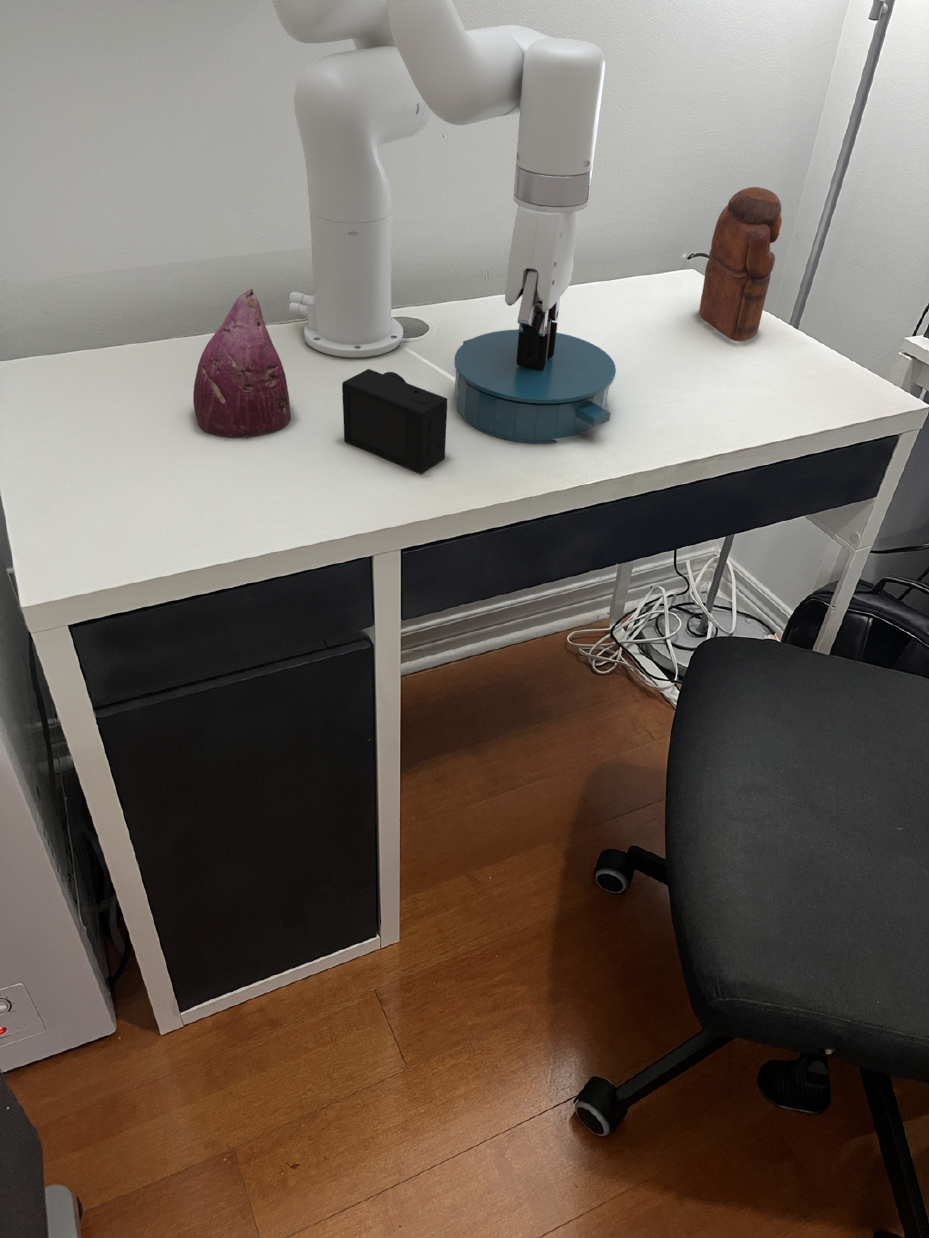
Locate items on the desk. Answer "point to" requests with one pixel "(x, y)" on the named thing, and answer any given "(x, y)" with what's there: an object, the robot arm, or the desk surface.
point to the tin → (527, 415)
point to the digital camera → (394, 419)
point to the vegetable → (241, 377)
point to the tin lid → (562, 380)
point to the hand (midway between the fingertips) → (535, 359)
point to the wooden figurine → (741, 263)
